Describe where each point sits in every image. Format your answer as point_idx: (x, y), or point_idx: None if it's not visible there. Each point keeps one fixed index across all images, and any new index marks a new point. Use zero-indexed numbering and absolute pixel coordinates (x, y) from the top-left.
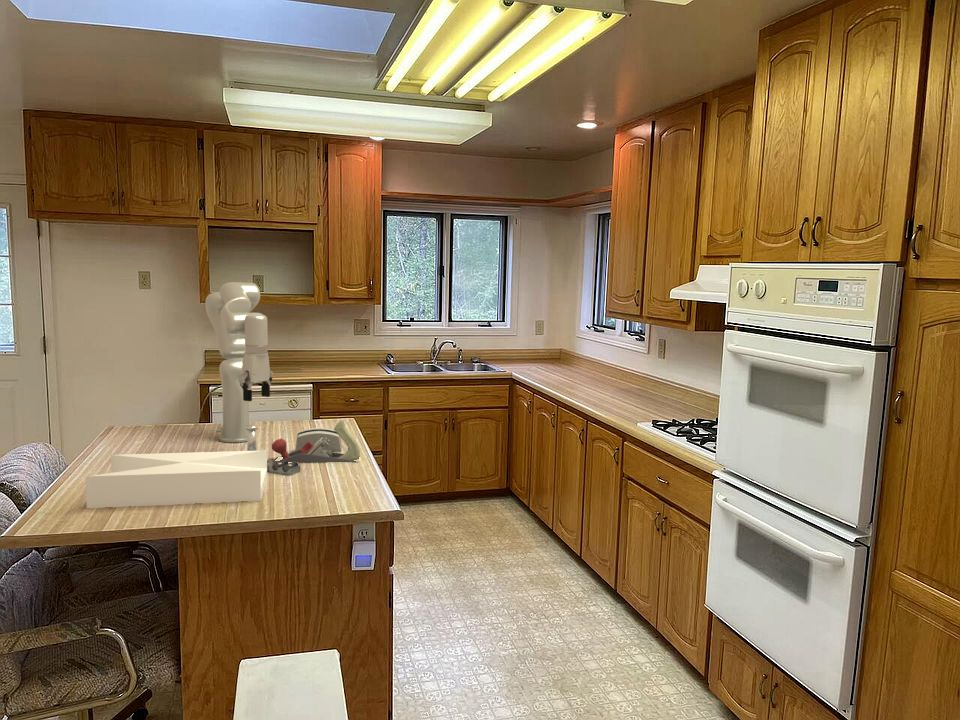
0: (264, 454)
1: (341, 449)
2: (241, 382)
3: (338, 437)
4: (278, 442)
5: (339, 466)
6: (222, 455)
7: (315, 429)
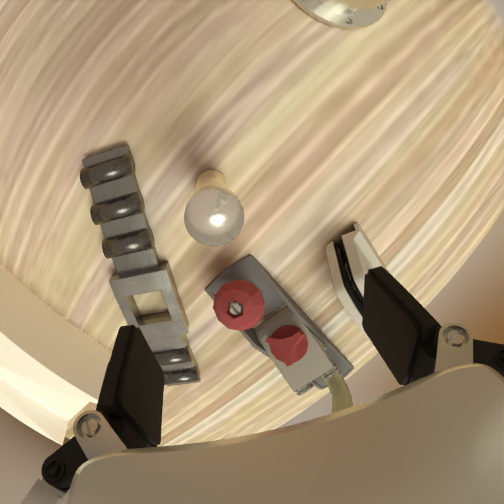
0: None
1: None
2: (48, 495)
3: None
4: (226, 325)
5: (277, 388)
6: (18, 369)
7: None
